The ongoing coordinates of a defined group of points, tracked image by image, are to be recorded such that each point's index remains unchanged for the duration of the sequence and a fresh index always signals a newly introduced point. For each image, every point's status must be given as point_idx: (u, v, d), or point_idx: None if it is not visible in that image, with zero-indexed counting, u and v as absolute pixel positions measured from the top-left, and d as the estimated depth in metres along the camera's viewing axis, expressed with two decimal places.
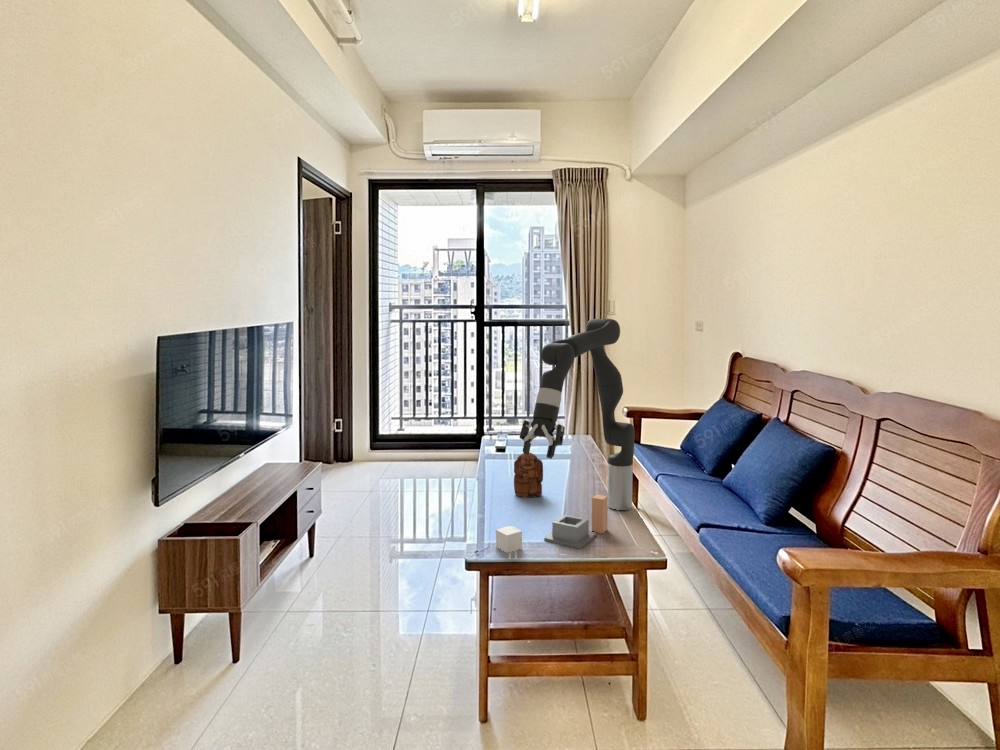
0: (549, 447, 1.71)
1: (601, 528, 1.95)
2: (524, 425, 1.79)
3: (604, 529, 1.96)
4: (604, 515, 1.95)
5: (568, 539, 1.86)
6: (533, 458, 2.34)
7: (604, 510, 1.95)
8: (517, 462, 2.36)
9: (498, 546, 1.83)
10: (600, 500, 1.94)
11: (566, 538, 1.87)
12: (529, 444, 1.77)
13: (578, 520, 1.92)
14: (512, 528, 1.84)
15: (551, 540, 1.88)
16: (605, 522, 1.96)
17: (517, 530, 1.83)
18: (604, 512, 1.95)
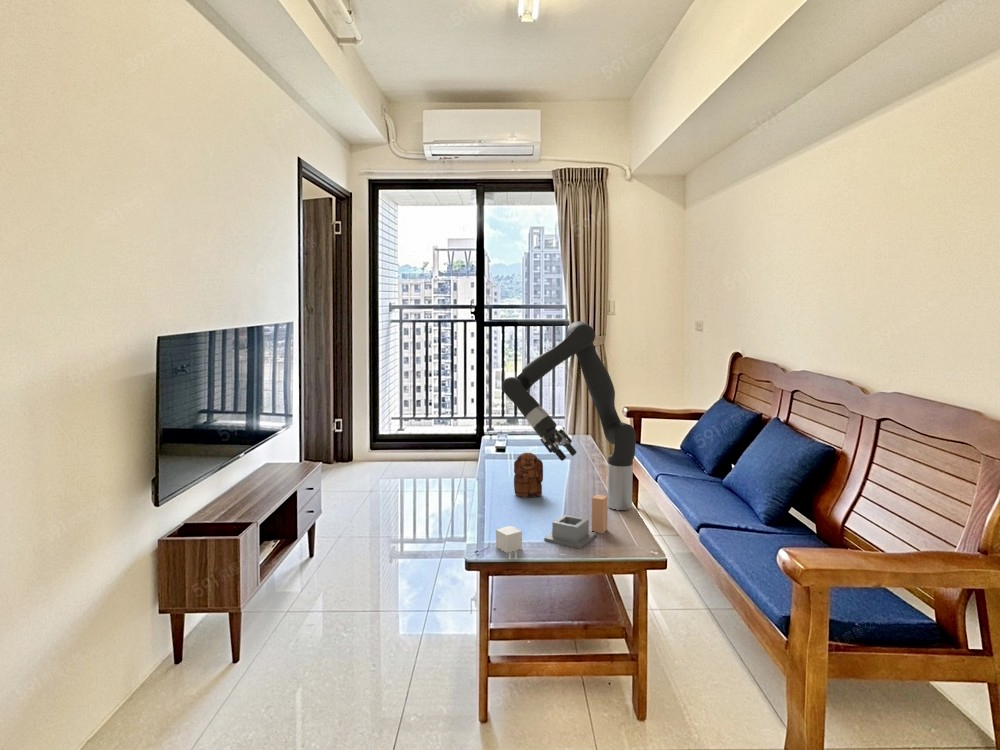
0: None
1: (601, 528, 1.95)
2: None
3: (604, 529, 1.96)
4: (604, 515, 1.95)
5: (568, 539, 1.86)
6: (533, 458, 2.34)
7: (604, 510, 1.95)
8: (517, 462, 2.36)
9: (498, 546, 1.83)
10: (600, 500, 1.94)
11: (566, 538, 1.87)
12: (569, 447, 2.05)
13: (578, 520, 1.92)
14: (513, 528, 1.84)
15: (551, 540, 1.88)
16: (605, 522, 1.96)
17: (517, 530, 1.83)
18: (604, 512, 1.95)
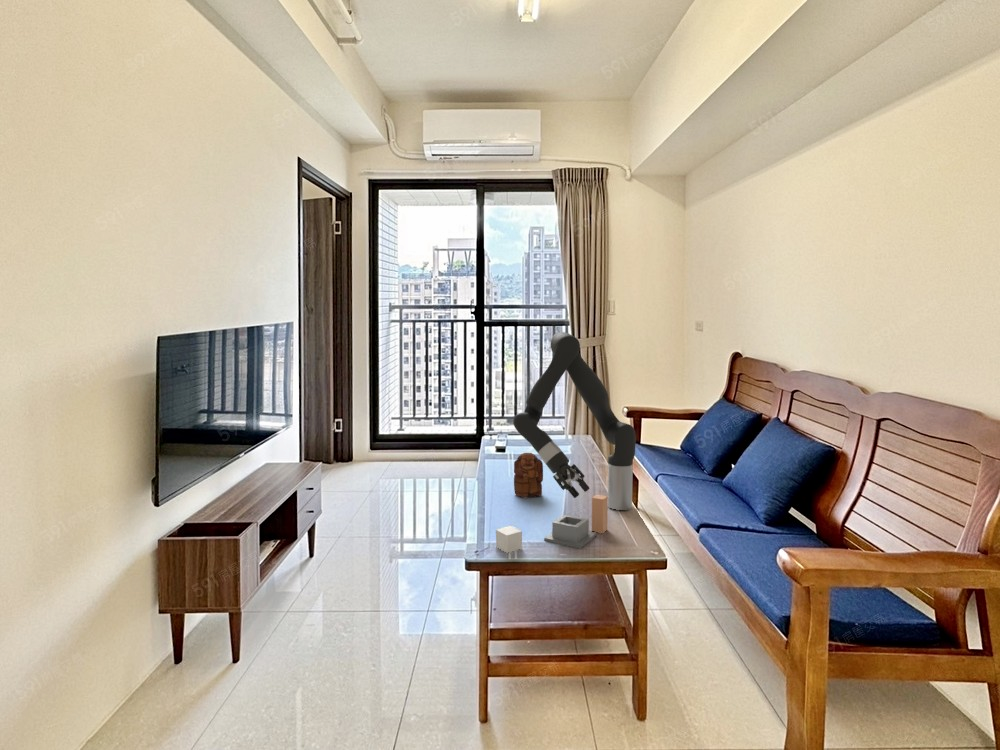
0: None
1: (601, 528, 1.95)
2: None
3: (604, 529, 1.96)
4: (604, 515, 1.95)
5: (568, 539, 1.86)
6: (533, 458, 2.34)
7: (604, 510, 1.95)
8: (517, 462, 2.36)
9: (498, 546, 1.83)
10: (600, 500, 1.94)
11: (566, 538, 1.87)
12: (581, 482, 2.04)
13: (578, 520, 1.92)
14: (512, 528, 1.84)
15: (551, 540, 1.88)
16: (605, 522, 1.96)
17: (517, 530, 1.83)
18: (604, 512, 1.95)
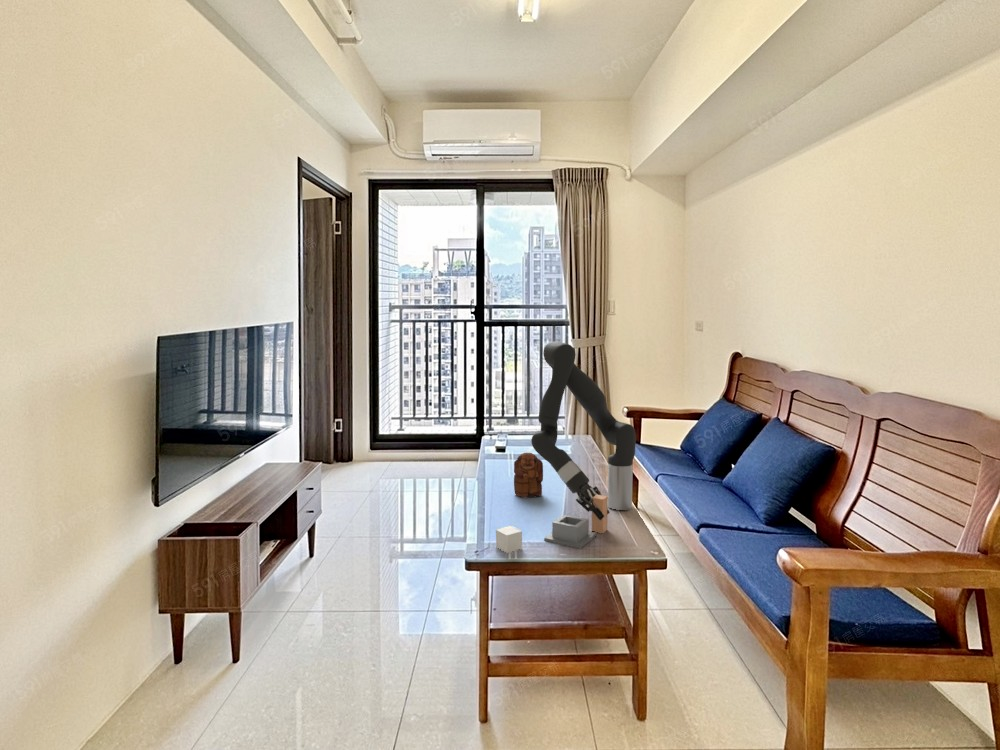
0: None
1: (601, 528, 1.95)
2: None
3: (604, 529, 1.96)
4: (604, 515, 1.95)
5: (568, 539, 1.86)
6: (533, 458, 2.34)
7: (604, 510, 1.95)
8: (517, 462, 2.36)
9: (498, 546, 1.83)
10: (600, 500, 1.94)
11: (566, 538, 1.87)
12: None
13: (578, 520, 1.92)
14: (513, 528, 1.84)
15: (551, 540, 1.88)
16: (605, 522, 1.96)
17: (517, 530, 1.83)
18: (604, 512, 1.95)
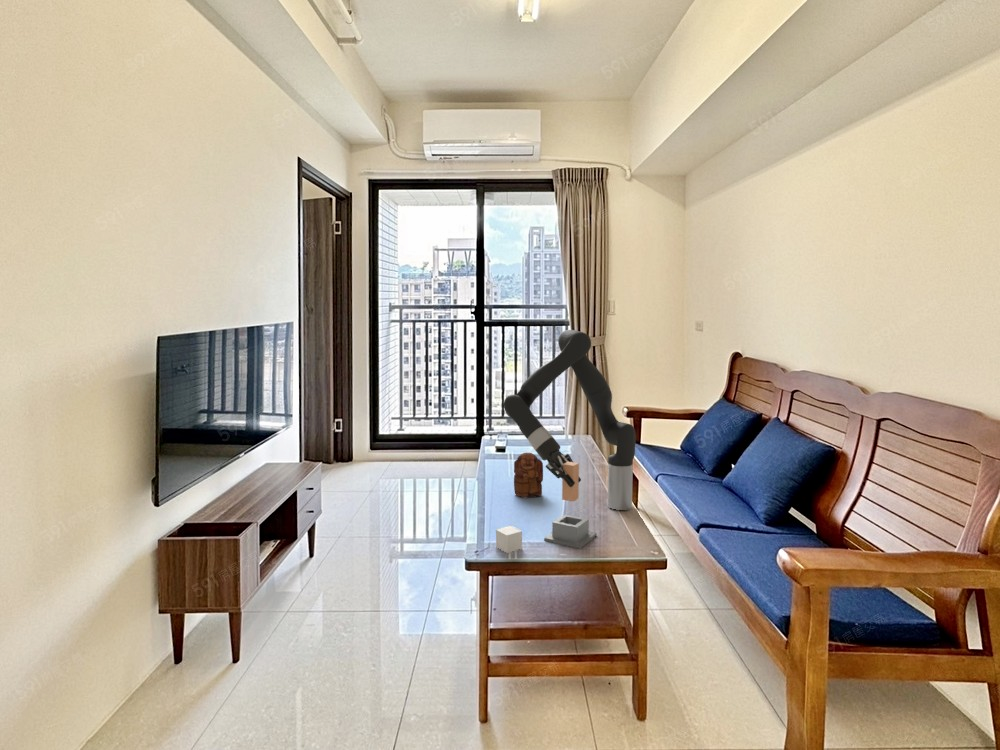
0: None
1: (572, 496, 1.87)
2: None
3: (575, 497, 1.88)
4: (575, 482, 1.88)
5: (568, 539, 1.86)
6: (533, 458, 2.34)
7: (575, 477, 1.87)
8: (517, 462, 2.36)
9: (498, 546, 1.83)
10: (571, 466, 1.86)
11: (566, 538, 1.87)
12: None
13: (578, 520, 1.92)
14: (513, 528, 1.84)
15: (551, 540, 1.88)
16: (576, 490, 1.89)
17: (517, 530, 1.83)
18: (575, 479, 1.88)
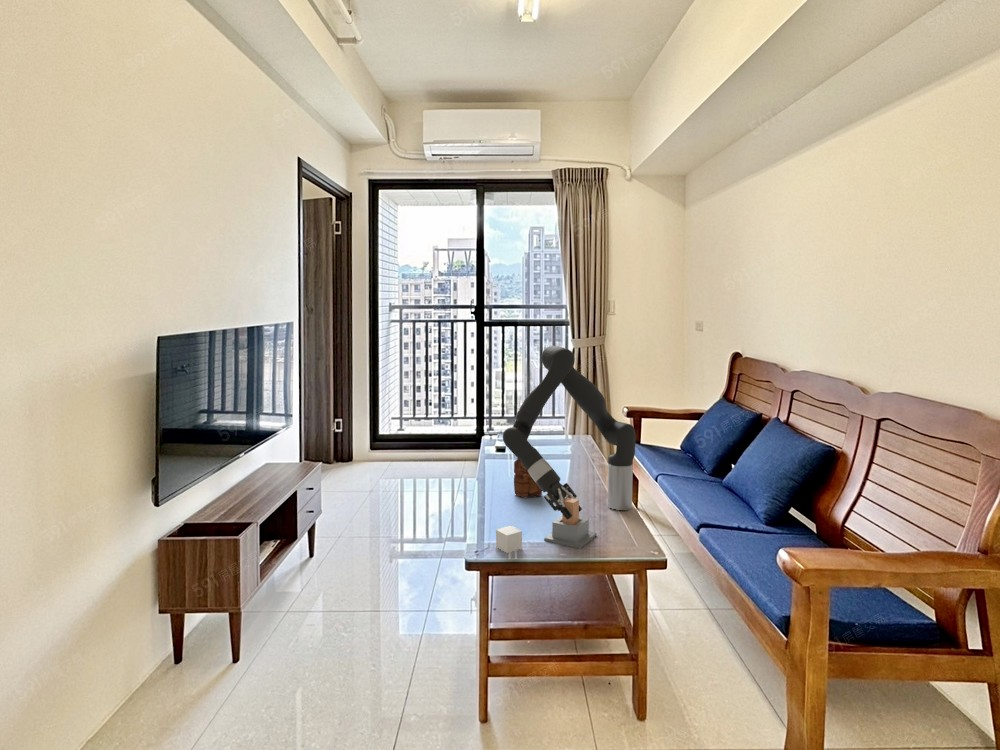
0: None
1: None
2: None
3: None
4: (575, 519, 1.89)
5: (568, 539, 1.86)
6: None
7: (575, 514, 1.89)
8: (517, 462, 2.36)
9: (498, 546, 1.83)
10: (570, 503, 1.88)
11: (566, 538, 1.87)
12: None
13: None
14: (513, 528, 1.84)
15: (551, 540, 1.88)
16: None
17: (517, 530, 1.83)
18: (575, 516, 1.89)
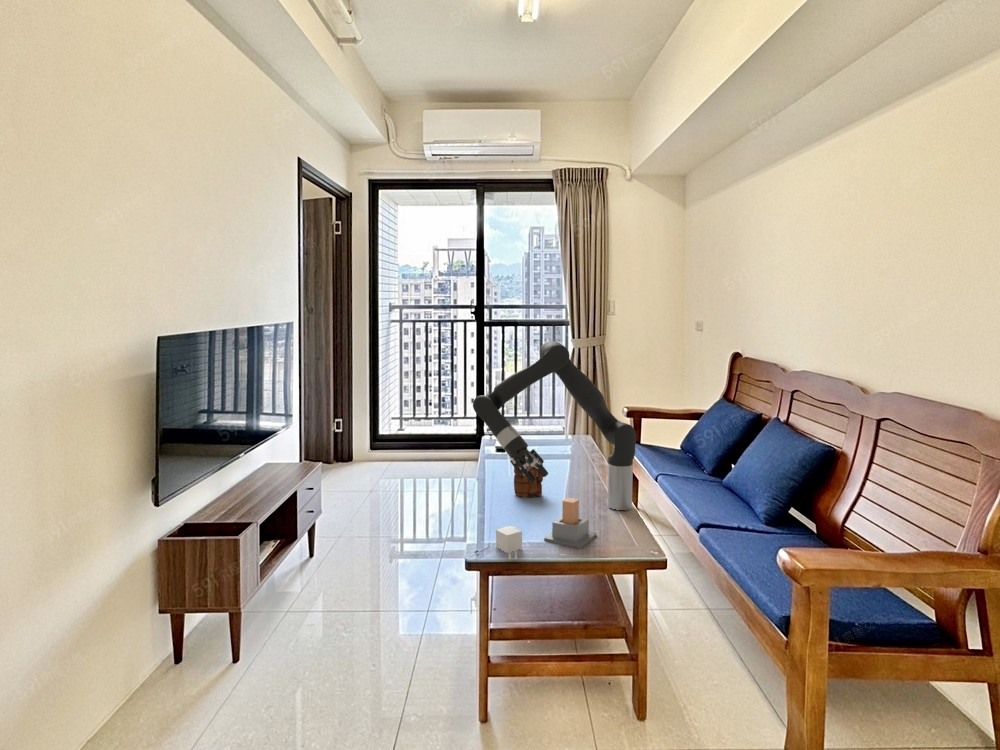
0: None
1: None
2: None
3: None
4: (575, 519, 1.89)
5: (568, 539, 1.86)
6: None
7: (575, 514, 1.89)
8: None
9: (498, 546, 1.83)
10: (570, 503, 1.88)
11: (566, 538, 1.87)
12: (540, 467, 2.00)
13: None
14: (513, 528, 1.84)
15: (551, 540, 1.88)
16: None
17: (517, 530, 1.83)
18: (575, 516, 1.89)
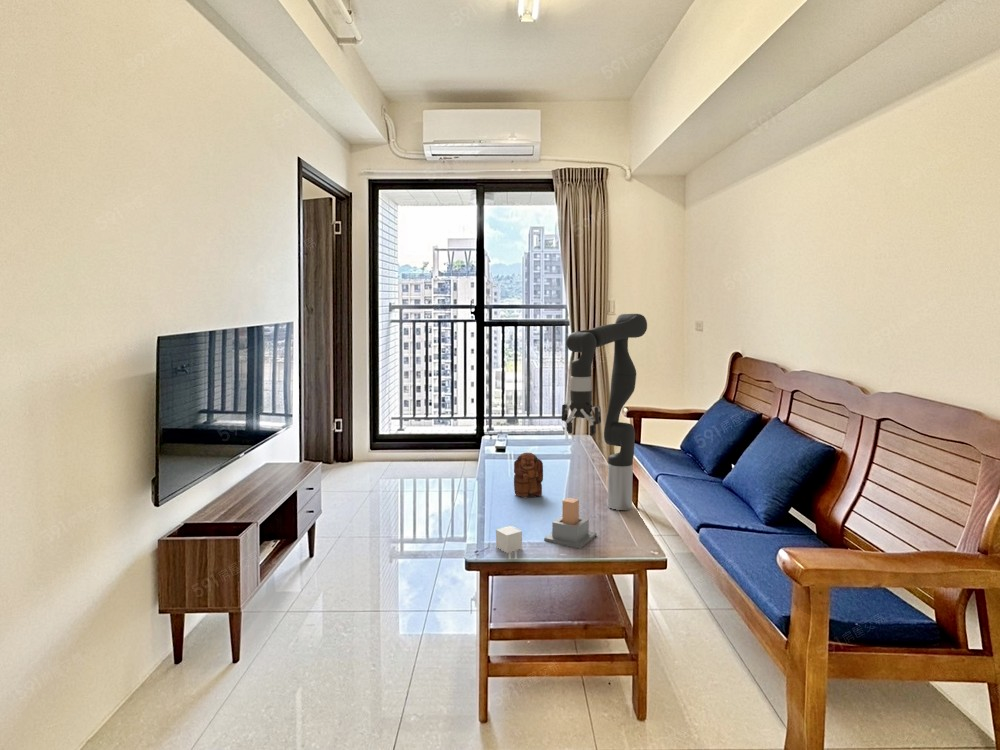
0: (591, 427, 2.00)
1: None
2: (563, 409, 2.05)
3: None
4: (575, 519, 1.89)
5: (568, 539, 1.86)
6: (533, 458, 2.34)
7: (575, 514, 1.89)
8: (517, 462, 2.36)
9: (498, 546, 1.83)
10: (570, 503, 1.88)
11: (566, 538, 1.87)
12: (571, 424, 2.05)
13: None
14: (513, 528, 1.84)
15: (551, 540, 1.88)
16: None
17: (517, 530, 1.83)
18: (575, 516, 1.89)
